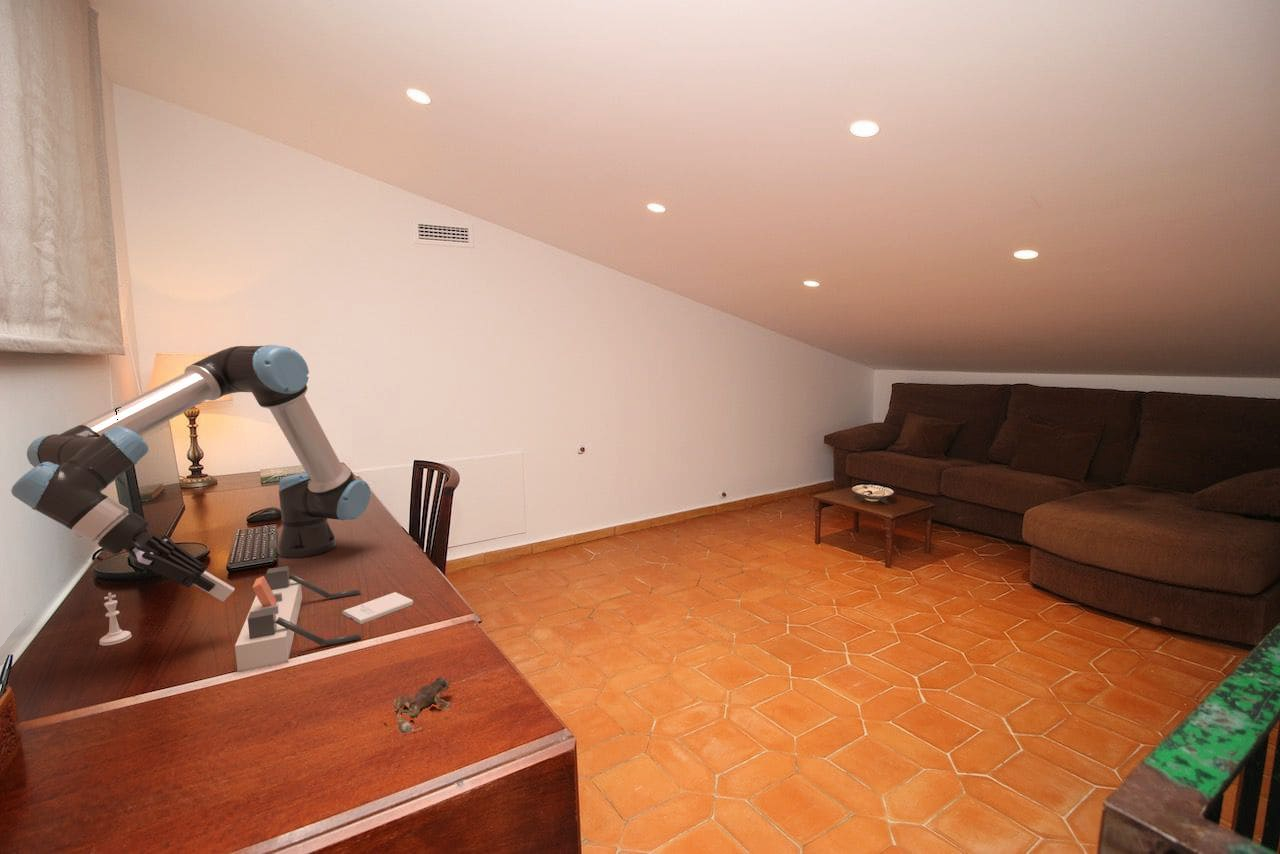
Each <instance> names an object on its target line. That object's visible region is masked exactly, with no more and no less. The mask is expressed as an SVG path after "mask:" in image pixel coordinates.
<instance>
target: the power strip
mask: <svg viewBox="0 0 1280 854" xmlns="http://www.w3.org/2000/svg"><path fill="white" fill-rule="evenodd" d="M289 568H290V567H289V565H286V566H280V567H279V566H278V567H273V568H272V567H271V568H268V569H267V571H266V581H267V583H268V585H269V586H270V588H271V590H272V592H273V594H274V596H275V598H276V603H275V605H273V606H267V607H262V605H261V603H260V601H259V599H258V597H257V595H256V594H255V596H254V597H255V598H254V600H253V601H252V604H251V607H250V609H249V611H248V613H247V615H246V619H245V622H244V624H243V626H242V628H241V630H240V633H239V635H238V638H237V641H236V642H235V644H234V653H235V660H236V670H237V672H243V671H248V670H252V669H258V668H262V667H266V666H271V665H277V664H282V663H287V662H289V660H290V654H291V650H292V645H293V641H294V637H295V636H294V635H295V634H297V635H299V636H302V637H304V638H306V639H307V640H310V641H311V642H313V643H316V644H318V645H320V646H323V645H324V647H327V646H333V645H338V644H343V643H348V642H353V641H358V640H360V639H361V638H362V634H361V633H353V634H348V635H344V636H343V635H342V636H339V637H332V638H328V639H325V638H323V637H320V636H319V635H317V634H315V633H313V632H311V631H309V630H306V629H305V628H303V627H300V626H299V625H297V623H298V619H299V615H300V610H301V606H302V601H303V594H302V593H303V592H302V586H303V587H305V588H307V589H308V590H310V591H312V592H314V593H317V594H318V595H320V596H322V597H324V598H326V599H328V598H329V599H330V600H333V599H338V598H339V599H340V598H344V597H350V596H357V595H359V594H360V593H361V589H358V588H357V589H351V590H346V591H339V592H334V593H330V592H328V591H326V590H324V589H323V588H320V587H319V586H317V585H315V584H313V583H312V582H310V581H308V580H306V579H304V578H302V577H300V576H298V575H296V574H294V573H293V572H292V573H291V574H290V569H289Z"/></svg>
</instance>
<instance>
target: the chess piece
mask: <svg viewBox="0 0 1280 854" xmlns="http://www.w3.org/2000/svg"><path fill="white" fill-rule="evenodd" d="M107 595H108V596H104V597H103V598H104V600H105V601H106V600H108V601H106V602H104V603H103V605H104V607H105V609H106V610H107V611H108V612H106V613H105V616H104V617H107V618H108V617H109V626H108V627H109V628H108V632H107V633H106V635H104V636H102V637H101V638H99V645H100V646H112V645H117V644H121V643H123V642H126V641H128V640H130V639H131V638H132V633H131V631H129V630H123V629H121V627H120V625H119V623H118V618H117V615H119V614H120V611H119V610H116V609H117V606H118V600H116V599H115V598H117V596H116V594H112V592H108V593H107Z"/></svg>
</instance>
